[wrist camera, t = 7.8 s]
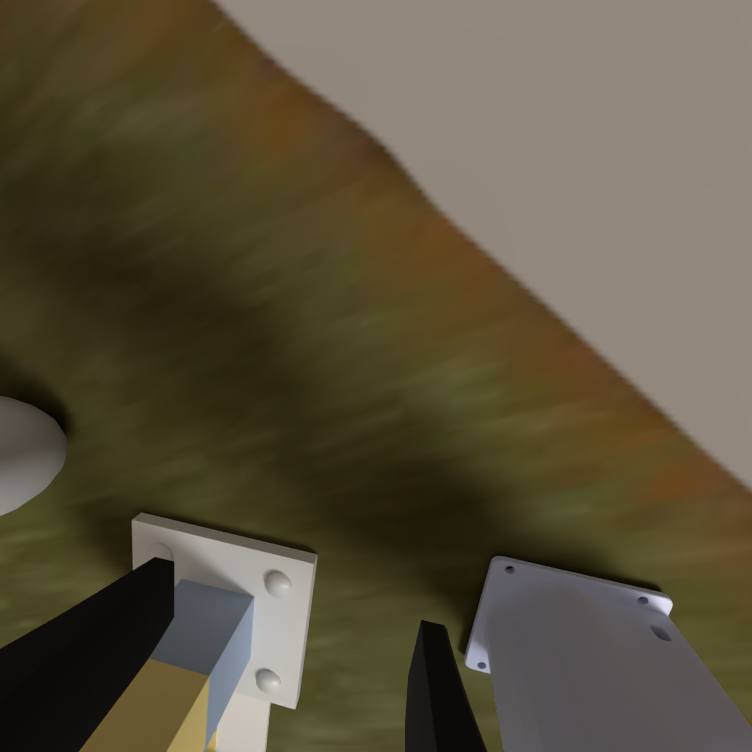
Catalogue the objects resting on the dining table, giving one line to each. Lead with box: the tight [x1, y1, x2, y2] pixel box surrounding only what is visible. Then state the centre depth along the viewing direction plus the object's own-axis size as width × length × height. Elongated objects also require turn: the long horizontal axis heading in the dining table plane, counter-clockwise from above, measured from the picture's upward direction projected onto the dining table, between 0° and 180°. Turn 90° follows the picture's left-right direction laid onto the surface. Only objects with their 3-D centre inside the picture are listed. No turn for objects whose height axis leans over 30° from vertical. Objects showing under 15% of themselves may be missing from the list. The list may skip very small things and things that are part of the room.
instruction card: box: [203, 692, 271, 752], centre depth 26 cm, size 10×8×1 cm
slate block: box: [149, 579, 255, 751], centre depth 21 cm, size 5×5×5 cm
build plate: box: [132, 512, 318, 709], centre depth 23 cm, size 12×12×1 cm
